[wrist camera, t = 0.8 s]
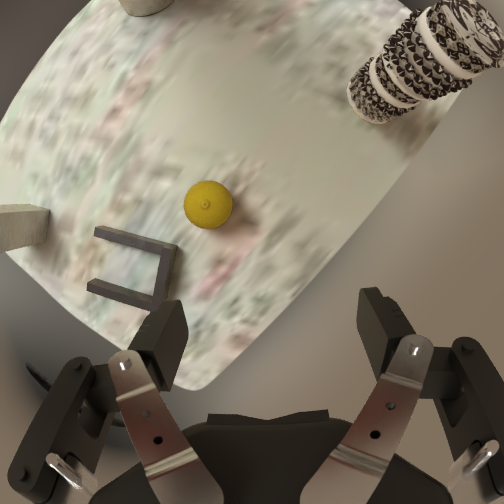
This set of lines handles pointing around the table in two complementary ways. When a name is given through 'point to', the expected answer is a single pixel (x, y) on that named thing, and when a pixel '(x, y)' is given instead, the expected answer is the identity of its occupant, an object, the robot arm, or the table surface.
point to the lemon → (208, 204)
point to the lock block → (22, 226)
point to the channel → (163, 272)
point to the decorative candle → (427, 60)
